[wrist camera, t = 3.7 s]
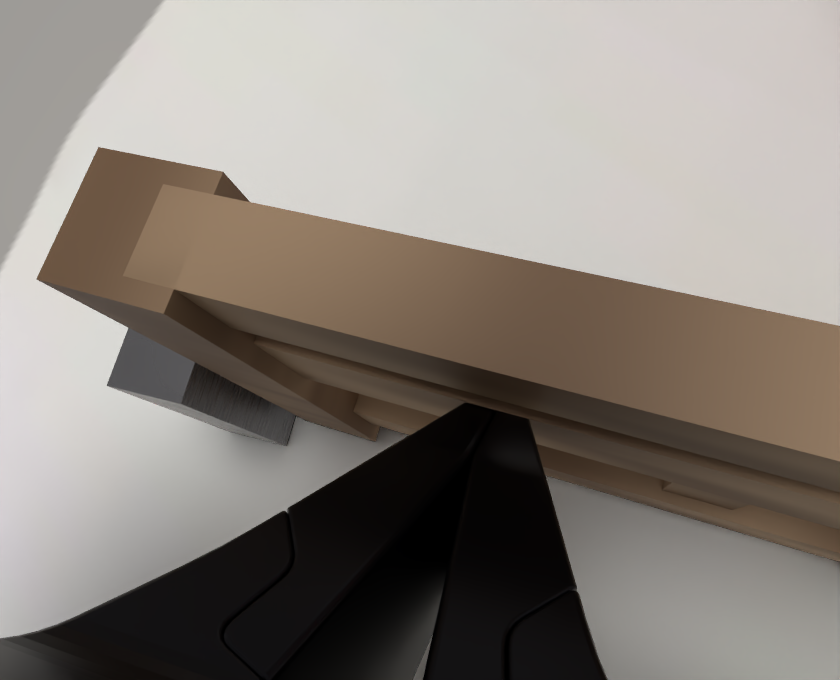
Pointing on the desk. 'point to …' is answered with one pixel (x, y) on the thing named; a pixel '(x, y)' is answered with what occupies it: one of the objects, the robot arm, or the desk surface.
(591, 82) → the desk surface
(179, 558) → the desk surface
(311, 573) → the robot arm
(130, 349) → the dark grey square post
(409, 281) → the walnut gate
